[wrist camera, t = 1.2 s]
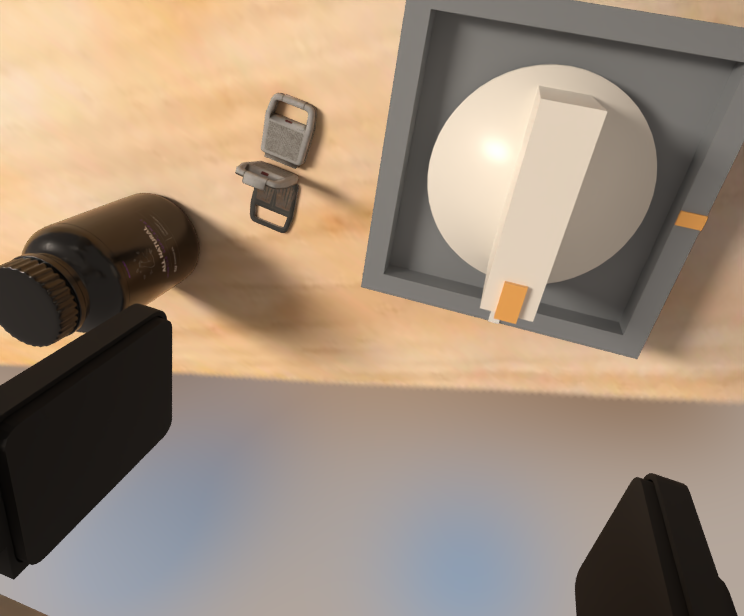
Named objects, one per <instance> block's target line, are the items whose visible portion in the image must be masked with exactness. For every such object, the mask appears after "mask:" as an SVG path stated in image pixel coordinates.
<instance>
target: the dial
mask: <svg viewBox="0 0 744 616" xmlns="http://www.w3.org/2000/svg"><path fill="white" fill-rule="evenodd" d="M656 178H657V156H656V148H655V144H654V140H653V136H652V133H651V130H650V128H649V126H648V123H647V121H646V119H645V117H644V116H643V114H642V113H641V111H640V109H639V108H638V106H637V105H636V104H635V103H634V102H633V101H632V99H631V98H630V97H629V96H628V95H627V94H626V93H625V92H623V91H622V90H621V89H620V88H619V87H617V86H616V85H615V84H613V83H611V82H610V81H608V80H607V79H605V78H603V77H602V76H600V75H597V74H595V73H593V72H590V71H588V70H585V69H582V68H578V67H574V66H569V65H560V64H539V65H533V66H527V67H522V68H519V69H515V70H512V71H509V72H506V73H504V74H502V75H500V76H498V77H495V78H493V79H492V80H490V81H488V82H487V83H485V84H484V85H482V86H480V87H479V88H478V89H477V90H475V91H474V92H473V93H472V94H470V95H469V96H468V97H467V98H466V99H465V100H464V101H463V102H462V103H461V104H460V105H459V106H458V107H457V108H456V109H455V111H454V112H453V113H452V115H451V116H450V117H449V119H448V120H447V121H446V123H445V125H444V126H443V128H442V130H441V132H440V133H439V135H438V138H437V140H436V143H435V145H434V148H433V151H432V155H431V158H430V162H429V169H428V197H429V204H430V207H431V211H432V215H433V218H434V220H435V223H436V225H437V227H438V229H439V231H440V233H441V234H442V236H443V238H444V239H445V241H446V242H447V243H448V245H449V246H450V247H451V248H452V249H453V250H454V252H455V253H456V254H457V255H458V256H459V257H460V258H462V259H463V260H464V261H465V262H467V263H468V264H469V265H471V266H472V267H474V268H476V269H477V270H479V271H481V272H483V273H485V274H486V278H485V283H484V288H483V294H482V299H481V304H480V308H481V309H485V310H489V311H493V312H495V314H494V319H498V320H502V321H506V322H509V323H513V324H516V322H517V319H518V318H520V319H524V320H527V321H531V322H533V320H534V318H535V315H536V312H537V309H538V306H539V303H540V301H541V298H542V295H543V292H544V289H545V287H546V284H548V283H554V282H560V281H564V280H567V279H571V278H574V277H577V276H579V275H582V274H584V273H586V272H588V271H590V270H592V269H594V268H596V267H598V266H599V265H601V264H602V263H604V262H605V261H607V260H608V259H609V258H611V257H612V256H613V255H614V254H615V253H617V252H618V251H619V250H620V249H621V248H622V247H623V246H624V245H625V244H626V243H627V242H628V240H629V239H630V238H631V237H632V236H633V235H634V233H635V232H636V230H637V229H638V227H639V226H640V224H641V223H642V221H643V219H644V217H645V215H646V213H647V211H648V209H649V206H650V203H651V200H652V197H653V194H654V189H655V184H656Z"/></svg>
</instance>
